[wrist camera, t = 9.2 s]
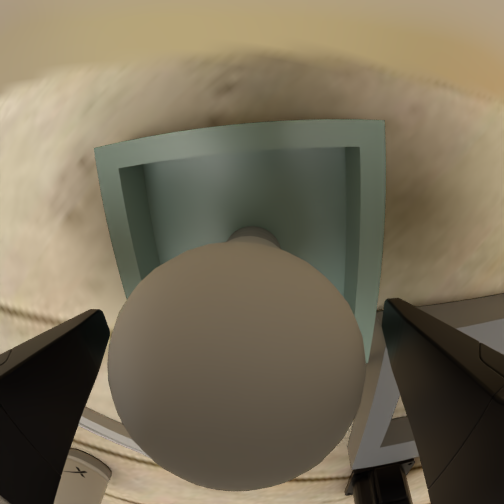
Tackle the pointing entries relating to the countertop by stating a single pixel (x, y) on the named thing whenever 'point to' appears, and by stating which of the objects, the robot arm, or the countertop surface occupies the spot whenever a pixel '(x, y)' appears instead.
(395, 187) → the countertop surface
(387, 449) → the socket board
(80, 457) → the travel mug
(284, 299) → the lightbulb
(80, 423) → the adjustable wrench
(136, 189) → the parts tray
